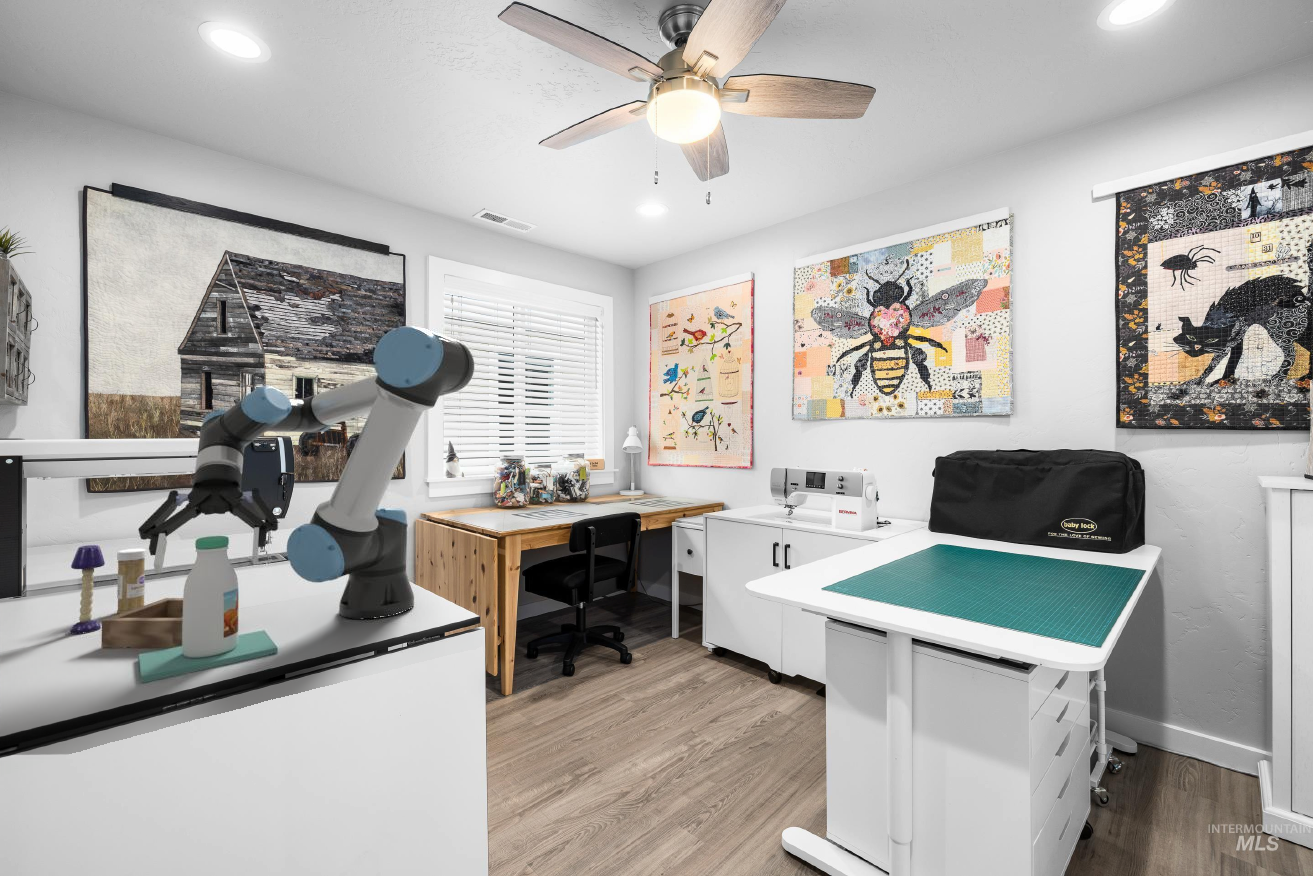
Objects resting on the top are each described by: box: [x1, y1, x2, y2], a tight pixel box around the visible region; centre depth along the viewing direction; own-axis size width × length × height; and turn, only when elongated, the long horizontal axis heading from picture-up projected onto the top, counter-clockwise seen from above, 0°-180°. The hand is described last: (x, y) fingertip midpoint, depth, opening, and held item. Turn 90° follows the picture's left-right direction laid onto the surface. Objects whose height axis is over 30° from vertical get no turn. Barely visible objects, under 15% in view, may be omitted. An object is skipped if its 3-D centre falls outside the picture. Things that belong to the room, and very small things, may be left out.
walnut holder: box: [100, 597, 183, 649], centre depth 109 cm, size 14×14×5 cm
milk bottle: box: [182, 535, 240, 658], centre depth 98 cm, size 8×8×20 cm
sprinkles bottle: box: [116, 548, 147, 615], centre depth 122 cm, size 5×5×13 cm
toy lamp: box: [69, 544, 105, 634], centre depth 110 cm, size 5×5×17 cm
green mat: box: [138, 629, 279, 684], centre depth 98 cm, size 18×12×1 cm, turn 134°
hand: (208, 564), depth 99 cm, fingers open, 13 cm apart
